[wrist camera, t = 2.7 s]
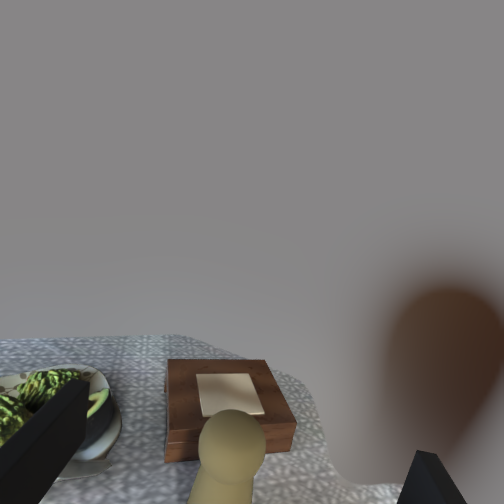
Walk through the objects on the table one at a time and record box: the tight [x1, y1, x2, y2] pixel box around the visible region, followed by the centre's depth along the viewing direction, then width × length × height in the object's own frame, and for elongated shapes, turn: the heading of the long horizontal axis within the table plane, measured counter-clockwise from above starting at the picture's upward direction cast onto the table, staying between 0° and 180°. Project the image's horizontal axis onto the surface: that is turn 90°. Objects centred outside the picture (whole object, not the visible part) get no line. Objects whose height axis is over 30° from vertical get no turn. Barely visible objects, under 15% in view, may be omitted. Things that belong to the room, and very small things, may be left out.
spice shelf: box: [164, 359, 297, 463], centre depth 38 cm, size 12×14×4 cm
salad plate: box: [0, 364, 122, 484], centre depth 30 cm, size 19×18×5 cm
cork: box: [187, 409, 266, 504], centre depth 25 cm, size 6×6×11 cm
